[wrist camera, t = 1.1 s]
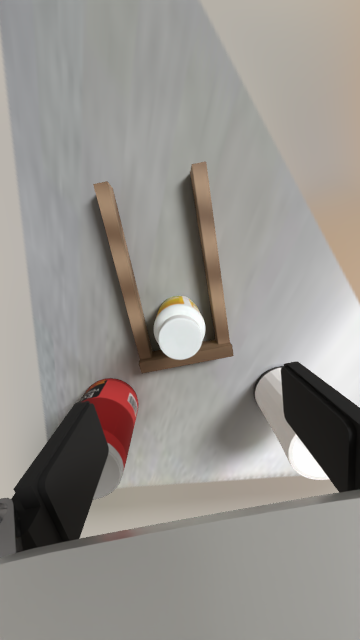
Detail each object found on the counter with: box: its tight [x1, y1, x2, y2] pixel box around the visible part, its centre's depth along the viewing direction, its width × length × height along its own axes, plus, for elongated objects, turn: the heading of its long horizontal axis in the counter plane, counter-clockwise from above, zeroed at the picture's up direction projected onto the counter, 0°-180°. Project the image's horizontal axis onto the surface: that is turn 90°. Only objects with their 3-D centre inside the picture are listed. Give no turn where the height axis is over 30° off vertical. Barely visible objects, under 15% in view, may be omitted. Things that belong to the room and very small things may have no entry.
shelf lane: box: [93, 162, 233, 373], centre depth 24 cm, size 22×12×3 cm, turn 11°
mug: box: [254, 366, 329, 480], centre depth 26 cm, size 11×9×10 cm
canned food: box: [79, 378, 138, 500], centre depth 25 cm, size 8×8×11 cm
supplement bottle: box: [154, 296, 205, 360], centre depth 23 cm, size 5×5×10 cm
